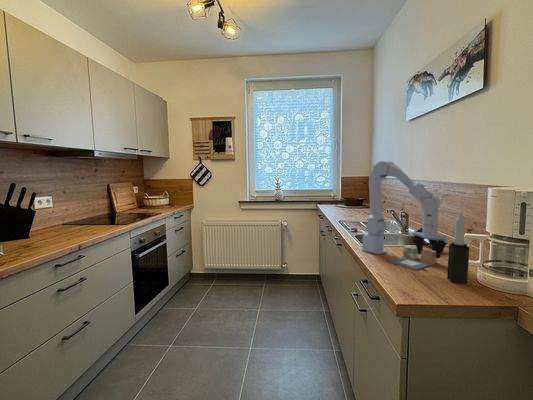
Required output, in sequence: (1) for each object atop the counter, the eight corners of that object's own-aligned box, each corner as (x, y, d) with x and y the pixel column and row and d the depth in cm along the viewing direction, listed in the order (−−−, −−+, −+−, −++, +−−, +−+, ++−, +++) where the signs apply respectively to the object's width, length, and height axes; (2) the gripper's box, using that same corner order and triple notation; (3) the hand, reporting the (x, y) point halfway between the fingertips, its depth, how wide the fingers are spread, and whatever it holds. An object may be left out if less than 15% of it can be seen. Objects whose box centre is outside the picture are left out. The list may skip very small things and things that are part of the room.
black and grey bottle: (468, 284, 98) (472, 212, 95) (452, 283, 99) (456, 212, 96) (461, 278, 103) (465, 210, 100) (446, 277, 104) (449, 210, 101)
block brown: (420, 261, 122) (420, 250, 122) (426, 260, 125) (426, 249, 124) (431, 264, 119) (431, 253, 118) (436, 262, 121) (437, 251, 121)
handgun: (424, 259, 154) (419, 233, 160) (444, 250, 134) (438, 220, 139) (415, 259, 155) (410, 233, 161) (434, 250, 134) (428, 220, 140)
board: (389, 262, 122) (389, 261, 122) (404, 258, 128) (404, 257, 127) (416, 270, 112) (416, 269, 112) (431, 265, 117) (431, 264, 117)
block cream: (403, 257, 129) (403, 246, 129) (408, 255, 132) (409, 245, 131) (412, 259, 125) (413, 248, 125) (418, 258, 128) (418, 247, 127)
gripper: (453, 226, 116) (451, 258, 117) (418, 221, 128) (417, 250, 130) (444, 227, 113) (443, 261, 114) (409, 222, 125) (408, 253, 126)
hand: (429, 255), depth 121 cm, fingers open, 7 cm apart
